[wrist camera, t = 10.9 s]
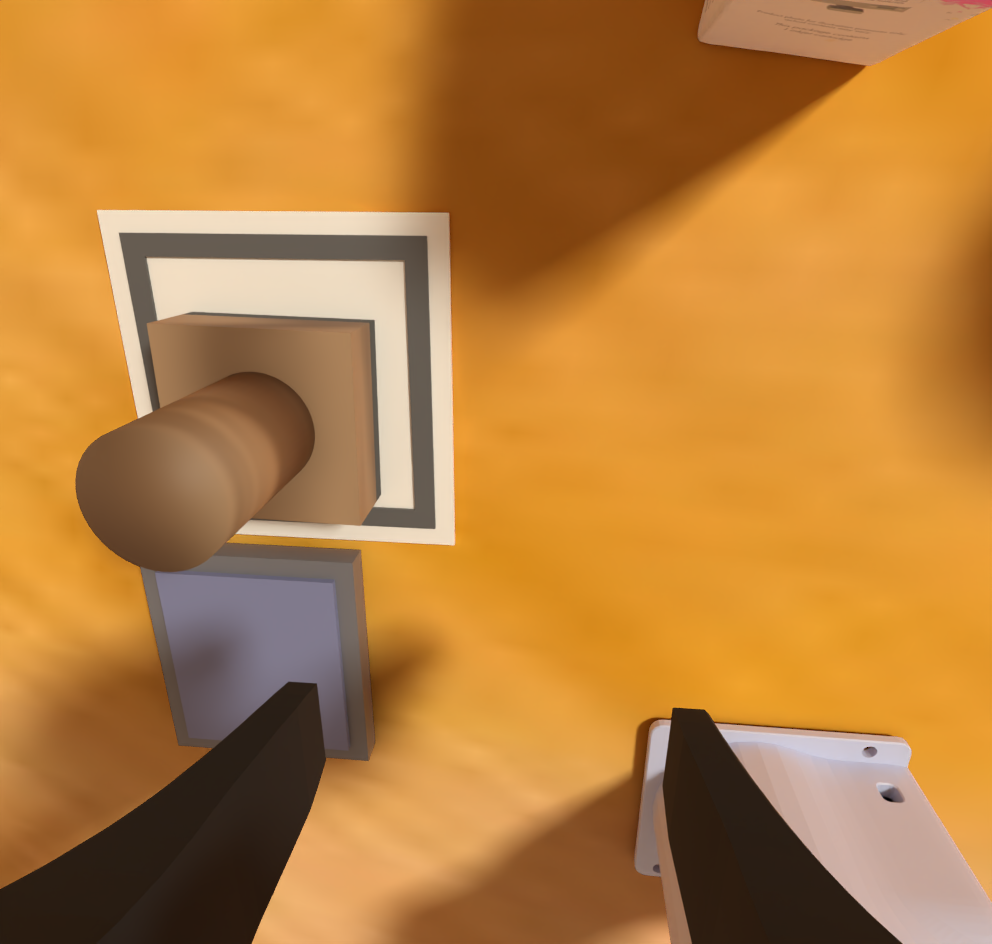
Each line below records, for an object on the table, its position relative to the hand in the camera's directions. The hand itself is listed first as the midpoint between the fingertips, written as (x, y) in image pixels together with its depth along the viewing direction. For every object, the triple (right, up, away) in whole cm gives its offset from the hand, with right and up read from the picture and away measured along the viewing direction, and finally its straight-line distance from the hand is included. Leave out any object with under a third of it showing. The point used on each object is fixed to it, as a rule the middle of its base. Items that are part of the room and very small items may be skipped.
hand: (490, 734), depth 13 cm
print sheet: (-7, +8, +9) cm, 14 cm away
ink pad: (-9, -2, +13) cm, 16 cm away
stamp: (-7, +8, +9) cm, 13 cm away
